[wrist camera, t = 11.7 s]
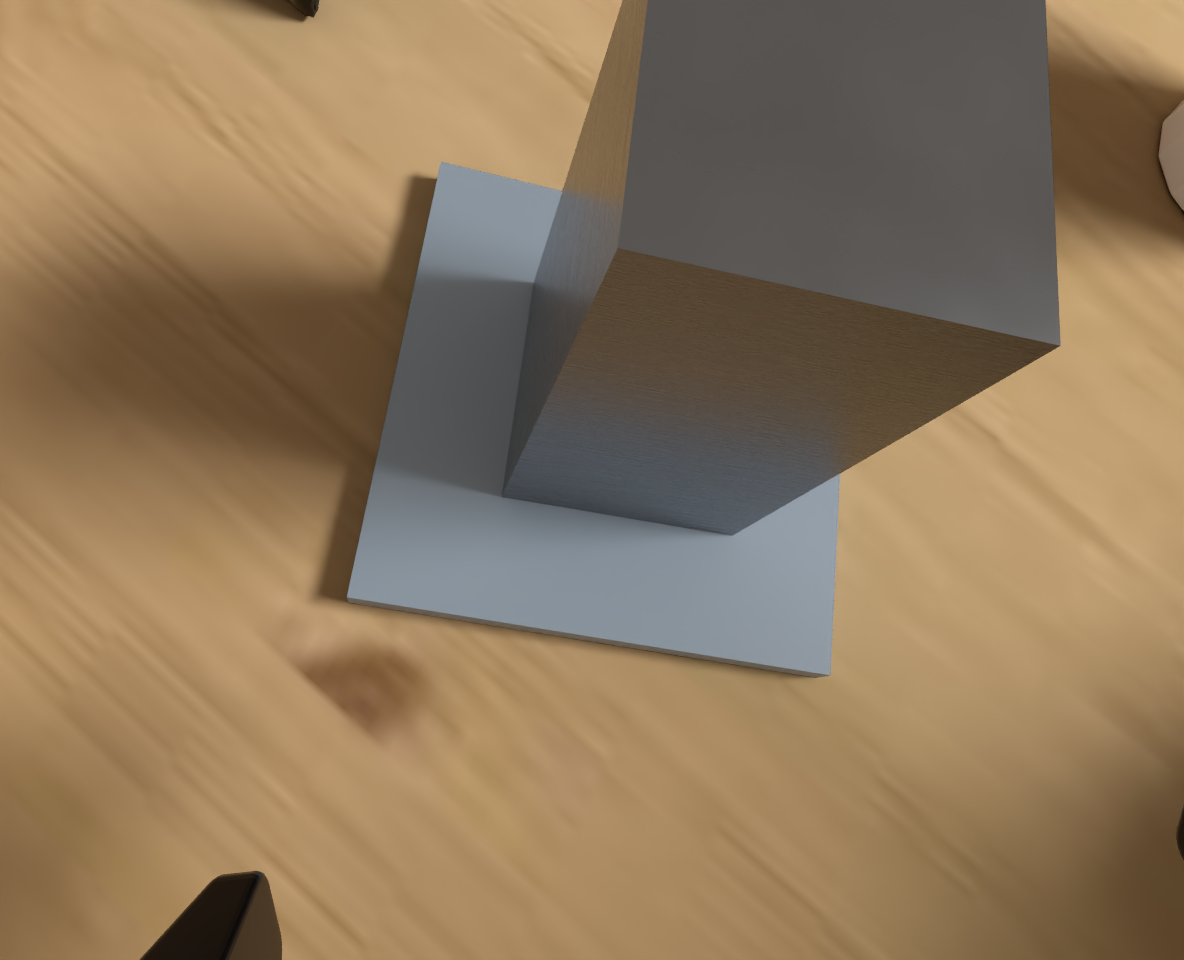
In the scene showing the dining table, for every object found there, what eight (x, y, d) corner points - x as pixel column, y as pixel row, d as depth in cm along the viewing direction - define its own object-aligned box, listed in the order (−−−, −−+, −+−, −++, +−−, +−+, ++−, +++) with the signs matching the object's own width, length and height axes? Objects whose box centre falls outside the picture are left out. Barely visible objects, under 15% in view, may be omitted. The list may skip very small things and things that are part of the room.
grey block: (732, 536, 23) (1059, 345, 12) (501, 497, 22) (617, 248, 11) (747, 326, 25) (1044, -15, 13) (533, 281, 24) (663, -128, 12)
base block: (804, 679, 24) (892, 665, 20) (349, 606, 22) (339, 573, 18) (826, 285, 28) (904, 203, 23) (438, 193, 26) (447, 85, 21)
